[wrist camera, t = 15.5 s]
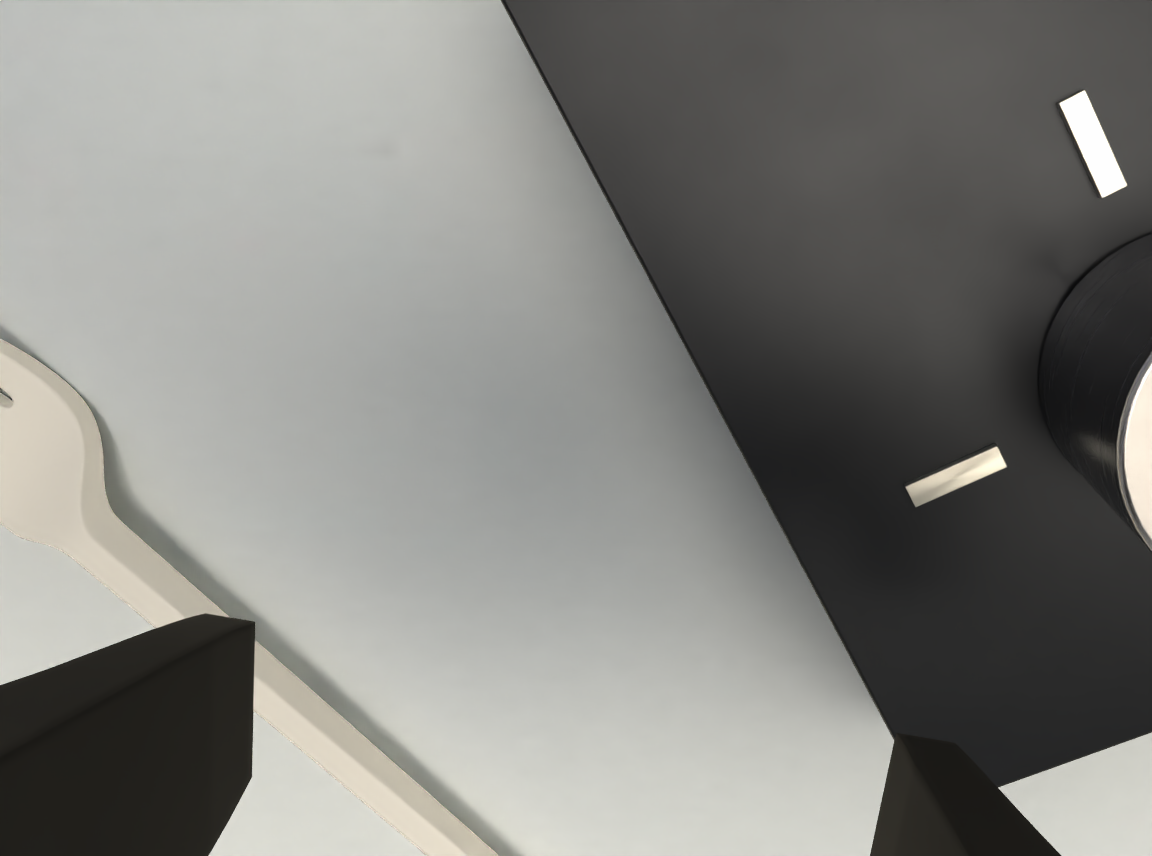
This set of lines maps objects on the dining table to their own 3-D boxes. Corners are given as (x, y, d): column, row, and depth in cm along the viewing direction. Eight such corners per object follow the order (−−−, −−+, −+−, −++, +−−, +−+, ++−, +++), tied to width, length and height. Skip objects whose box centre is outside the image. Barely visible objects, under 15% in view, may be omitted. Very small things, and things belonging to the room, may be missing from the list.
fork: (552, 993, 23) (534, 1066, 21) (-186, 348, 22) (-270, 367, 20) (657, 907, 22) (648, 976, 20) (-108, 226, 21) (-190, 236, 19)
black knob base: (538, 15, 18) (494, -6, 15) (1155, -368, 15) (1251, -488, 12) (908, 716, 20) (933, 819, 17) (1501, 487, 18) (1655, 562, 15)
